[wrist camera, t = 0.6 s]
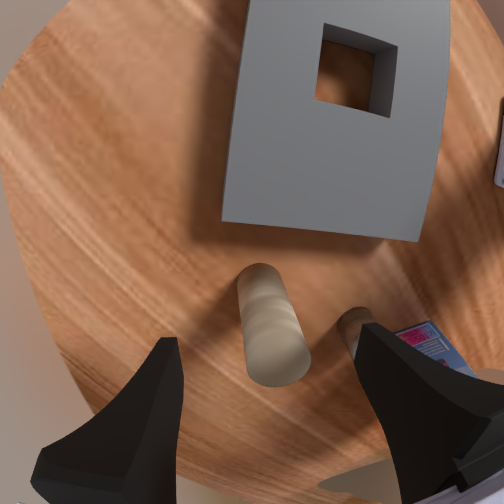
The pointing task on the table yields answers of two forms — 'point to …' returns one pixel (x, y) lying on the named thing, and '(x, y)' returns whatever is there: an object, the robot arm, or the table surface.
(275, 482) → the table surface
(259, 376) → the birch pin
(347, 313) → the short steel pin
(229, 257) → the table surface
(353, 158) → the hole plate
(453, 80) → the table surface
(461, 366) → the ink cartridge box
